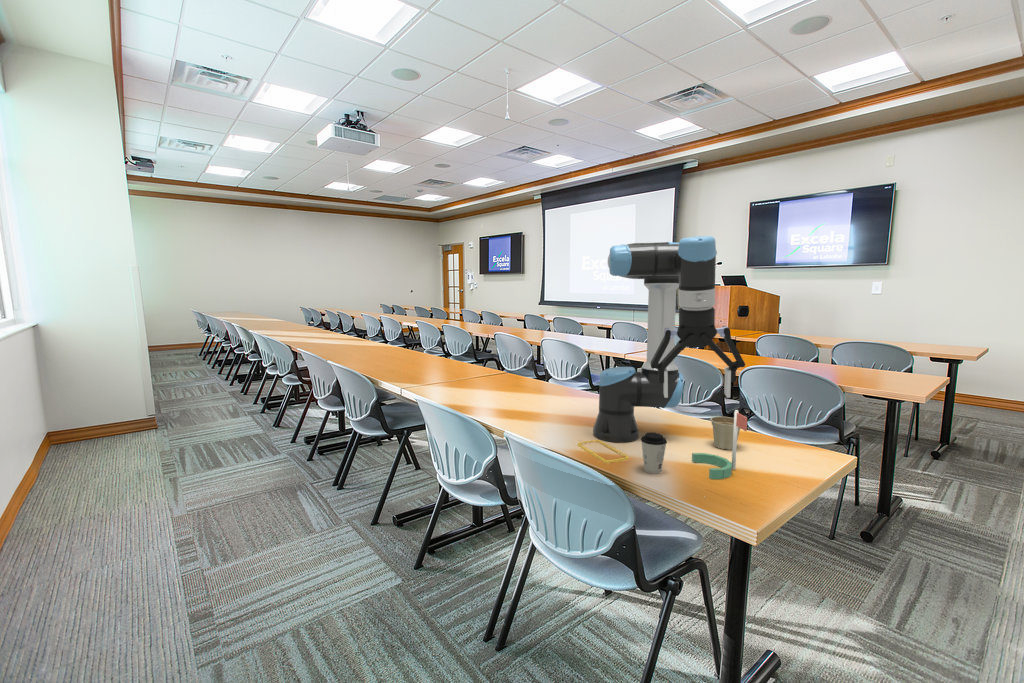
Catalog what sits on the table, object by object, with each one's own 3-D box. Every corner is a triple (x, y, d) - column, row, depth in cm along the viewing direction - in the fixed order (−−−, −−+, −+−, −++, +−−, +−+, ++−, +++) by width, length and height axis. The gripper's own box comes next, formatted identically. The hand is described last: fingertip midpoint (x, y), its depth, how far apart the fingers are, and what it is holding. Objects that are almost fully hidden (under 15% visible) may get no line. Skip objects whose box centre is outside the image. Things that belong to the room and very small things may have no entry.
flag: (730, 468, 126) (733, 409, 124) (734, 468, 126) (737, 409, 124) (741, 477, 120) (745, 415, 118) (745, 477, 120) (748, 415, 118)
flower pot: (745, 446, 144) (747, 420, 143) (736, 454, 137) (738, 426, 136) (714, 440, 150) (716, 414, 149) (704, 447, 143) (706, 420, 142)
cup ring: (691, 461, 132) (692, 453, 131) (718, 461, 132) (718, 452, 131) (711, 479, 119) (711, 470, 119) (740, 478, 119) (740, 469, 119)
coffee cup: (669, 475, 122) (670, 439, 120) (643, 475, 122) (644, 439, 121) (661, 465, 129) (662, 431, 127) (636, 465, 129) (637, 431, 128)
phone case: (598, 443, 149) (598, 439, 148) (630, 461, 133) (630, 457, 133) (576, 446, 146) (576, 442, 145) (606, 465, 130) (606, 461, 130)
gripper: (639, 313, 101) (641, 401, 106) (762, 307, 95) (758, 401, 100) (638, 306, 108) (640, 389, 113) (753, 301, 102) (749, 389, 107)
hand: (696, 395), depth 107 cm, fingers open, 13 cm apart
